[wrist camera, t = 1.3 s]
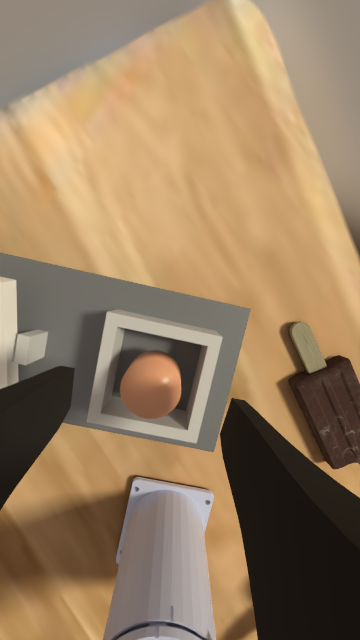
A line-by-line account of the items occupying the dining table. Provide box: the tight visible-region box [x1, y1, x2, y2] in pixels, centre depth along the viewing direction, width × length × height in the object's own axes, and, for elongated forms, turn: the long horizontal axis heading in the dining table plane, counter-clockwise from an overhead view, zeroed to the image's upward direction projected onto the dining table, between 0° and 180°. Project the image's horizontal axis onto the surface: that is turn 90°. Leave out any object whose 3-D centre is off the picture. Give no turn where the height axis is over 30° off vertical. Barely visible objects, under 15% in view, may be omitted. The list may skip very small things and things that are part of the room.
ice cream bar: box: [288, 322, 360, 469], centre depth 20 cm, size 5×2×15 cm
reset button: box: [120, 350, 181, 419], centre depth 14 cm, size 4×4×2 cm
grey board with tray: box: [0, 253, 250, 452], centre depth 16 cm, size 12×24×6 cm, turn 77°
